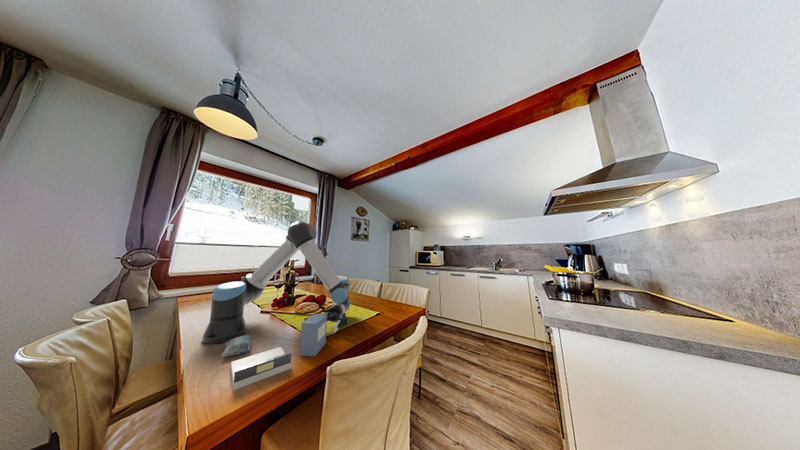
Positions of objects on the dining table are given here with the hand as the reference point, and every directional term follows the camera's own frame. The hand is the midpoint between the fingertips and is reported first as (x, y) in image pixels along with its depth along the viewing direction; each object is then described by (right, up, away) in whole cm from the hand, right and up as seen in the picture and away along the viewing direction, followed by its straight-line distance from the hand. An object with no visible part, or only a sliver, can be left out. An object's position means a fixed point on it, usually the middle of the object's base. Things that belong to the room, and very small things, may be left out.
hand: (318, 329), depth 83 cm
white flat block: (-13, -5, -16) cm, 21 cm away
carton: (-1, -7, -3) cm, 7 cm away
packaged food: (-30, -6, -6) cm, 31 cm away
